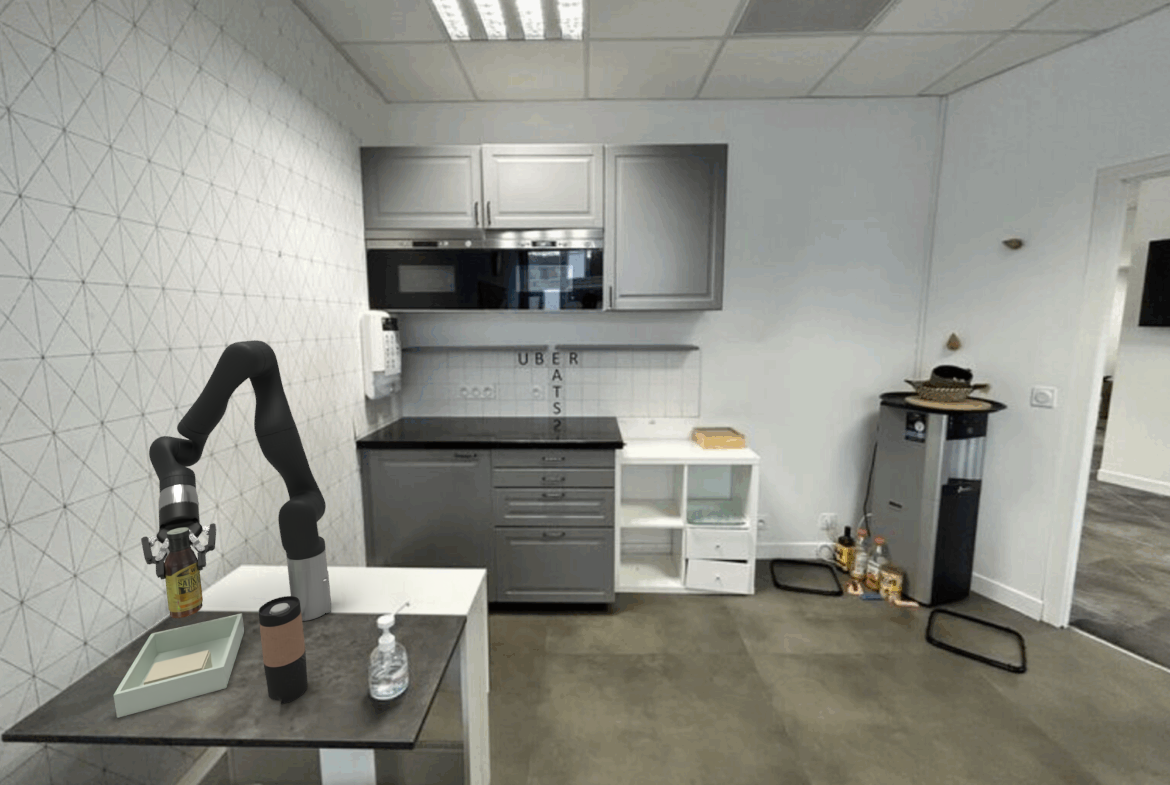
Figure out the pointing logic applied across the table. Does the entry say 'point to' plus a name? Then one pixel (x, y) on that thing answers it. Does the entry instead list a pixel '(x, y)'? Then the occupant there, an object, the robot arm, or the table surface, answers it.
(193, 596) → the sauce bottle
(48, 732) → the table surface
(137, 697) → the tote
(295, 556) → the robot arm
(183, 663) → the beige lidded box
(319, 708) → the table surface
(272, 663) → the travel mug
